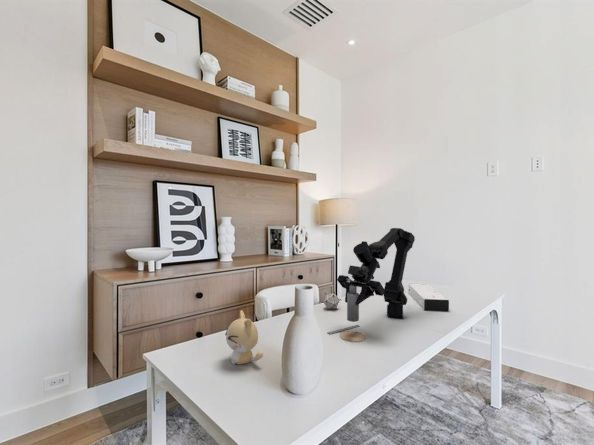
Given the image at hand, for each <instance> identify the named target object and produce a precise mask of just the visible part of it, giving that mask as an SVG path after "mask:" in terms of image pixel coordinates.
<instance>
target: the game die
mask: <svg viewBox="0 0 594 445" xmlns="http://www.w3.org/2000/svg"><path fill="white" fill-rule="evenodd" d="M324 294H325V296H324V299H323V300H322V301H321V304H322V303H323V304H324V306H325V307H326V308H327V311H329V309H330V310H331V309H336V310H338V305H339V303H340V302H341V301H342V299H339V297H338V295H336V291H334V292H333V293H332V292H331V293H327V292H324Z"/></svg>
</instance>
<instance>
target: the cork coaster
mask: <svg viewBox="0 0 594 445" xmlns="http://www.w3.org/2000/svg"><path fill="white" fill-rule="evenodd" d="M339 338H340V339H341V340H343V341H347V342H352V343H359V342H363V341H364V342H365V340H366V339H367V335H366V333H363V332H361V331H358V330H345V331H341V332H339Z"/></svg>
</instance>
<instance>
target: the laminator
mask: <svg viewBox="0 0 594 445" xmlns="http://www.w3.org/2000/svg"><path fill="white" fill-rule="evenodd" d="M407 291H408V295H409V296H410V298H412V299H413V300H414V301H415V302H416V304H417V305H418V306H419V307H420V308H421V309H422V311H425V312H447V313H449V310H450V300H449V299H448V298H446V296H444V295H443V294H441V293H440V292H439V291H437V290H436V289H435V288H434V287H433V286H431V285H430V284H428V283H408V290H407Z"/></svg>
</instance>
